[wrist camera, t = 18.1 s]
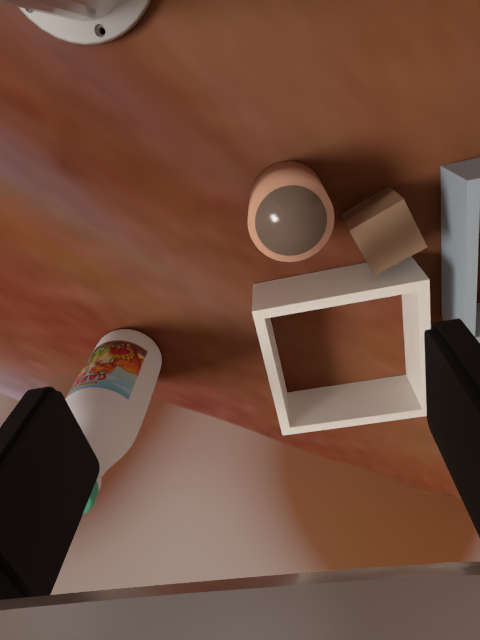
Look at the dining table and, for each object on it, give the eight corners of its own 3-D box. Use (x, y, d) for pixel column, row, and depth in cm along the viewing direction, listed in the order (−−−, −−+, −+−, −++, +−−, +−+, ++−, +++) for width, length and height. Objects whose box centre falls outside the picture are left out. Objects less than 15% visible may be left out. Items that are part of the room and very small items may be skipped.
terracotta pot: (242, 170, 40) (238, 188, 34) (318, 152, 39) (328, 168, 33) (258, 241, 44) (257, 269, 38) (328, 226, 43) (339, 253, 37)
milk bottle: (175, 350, 51) (130, 495, 34) (142, 391, 54) (86, 543, 37) (117, 314, 49) (36, 450, 32) (86, 359, 52) (-2, 504, 35)
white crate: (253, 284, 46) (251, 311, 41) (409, 254, 44) (429, 279, 39) (280, 400, 54) (282, 435, 49) (415, 380, 51) (432, 415, 46)
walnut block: (340, 214, 42) (349, 230, 38) (388, 185, 41) (403, 199, 36) (363, 255, 44) (374, 275, 40) (410, 229, 43) (427, 247, 38)
